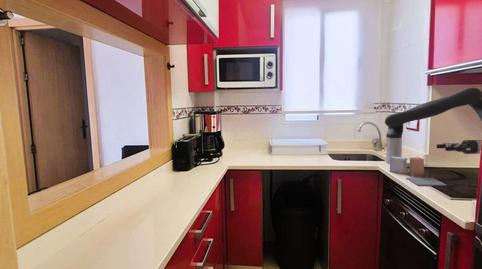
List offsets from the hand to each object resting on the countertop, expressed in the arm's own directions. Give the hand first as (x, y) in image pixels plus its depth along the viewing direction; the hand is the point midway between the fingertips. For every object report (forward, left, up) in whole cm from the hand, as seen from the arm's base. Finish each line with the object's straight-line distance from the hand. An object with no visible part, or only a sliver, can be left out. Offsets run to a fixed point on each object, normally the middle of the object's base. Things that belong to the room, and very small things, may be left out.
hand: (441, 147), depth 149 cm
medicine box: (-9, -18, -16) cm, 26 cm away
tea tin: (0, -12, -16) cm, 20 cm away
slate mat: (+12, -13, -16) cm, 24 cm away
